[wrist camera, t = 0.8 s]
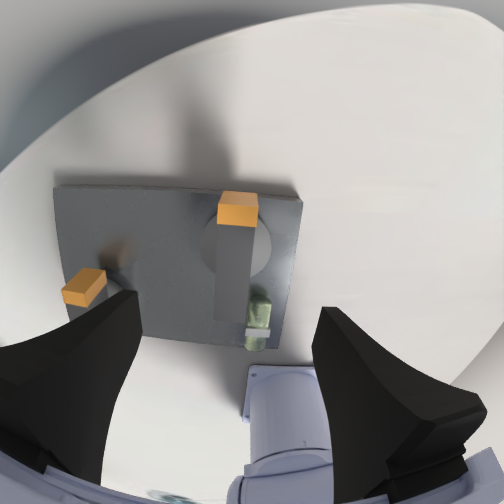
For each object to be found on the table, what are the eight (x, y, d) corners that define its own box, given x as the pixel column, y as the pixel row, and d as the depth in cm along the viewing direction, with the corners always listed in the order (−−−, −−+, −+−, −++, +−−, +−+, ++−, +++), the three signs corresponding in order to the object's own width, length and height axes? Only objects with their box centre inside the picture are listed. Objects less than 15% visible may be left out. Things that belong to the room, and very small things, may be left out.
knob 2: (264, 286, 20) (267, 325, 16) (201, 281, 20) (190, 318, 16) (276, 191, 18) (285, 209, 14) (205, 185, 17) (192, 201, 13)
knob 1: (136, 336, 22) (119, 373, 18) (91, 328, 22) (70, 361, 18) (126, 264, 19) (101, 296, 15) (77, 259, 19) (47, 287, 15)
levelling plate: (276, 339, 24) (279, 364, 21) (80, 315, 23) (66, 334, 20) (300, 198, 19) (309, 209, 16) (61, 185, 18) (38, 194, 15)
